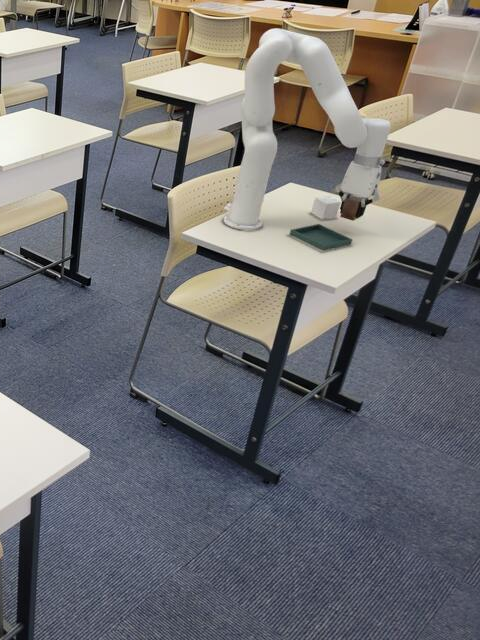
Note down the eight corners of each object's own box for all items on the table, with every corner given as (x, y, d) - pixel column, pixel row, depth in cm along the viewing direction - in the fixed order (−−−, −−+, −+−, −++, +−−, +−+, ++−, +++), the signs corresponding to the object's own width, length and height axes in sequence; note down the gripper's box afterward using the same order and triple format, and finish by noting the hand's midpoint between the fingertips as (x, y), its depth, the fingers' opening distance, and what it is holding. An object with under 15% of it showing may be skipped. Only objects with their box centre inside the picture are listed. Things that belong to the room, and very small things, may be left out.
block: (339, 216, 230) (345, 198, 227) (346, 213, 233) (351, 195, 229) (353, 220, 227) (359, 202, 224) (359, 217, 230) (365, 198, 227)
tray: (288, 235, 231) (290, 229, 229) (316, 229, 235) (318, 223, 234) (321, 252, 220) (323, 245, 219) (350, 245, 225) (352, 239, 224)
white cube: (310, 213, 248) (314, 197, 244) (324, 212, 249) (328, 196, 246) (321, 220, 243) (326, 203, 240) (335, 218, 245) (340, 202, 241)
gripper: (399, 164, 217) (381, 219, 227) (346, 151, 227) (331, 205, 237) (389, 168, 212) (371, 225, 222) (335, 156, 223) (320, 210, 233)
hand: (350, 214), depth 230 cm, fingers closed on block, 4 cm apart
